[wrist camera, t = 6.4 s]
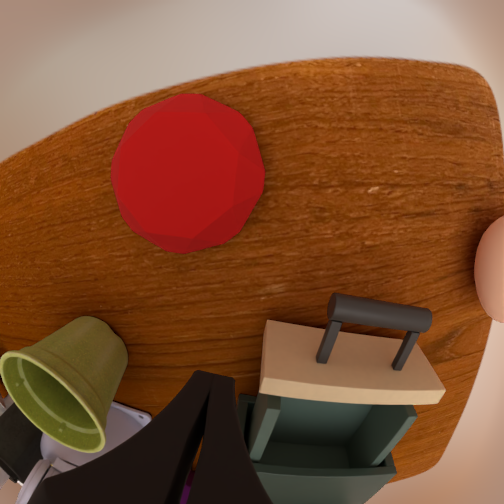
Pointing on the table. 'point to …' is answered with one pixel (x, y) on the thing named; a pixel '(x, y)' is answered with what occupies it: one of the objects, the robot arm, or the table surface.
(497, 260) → the egg
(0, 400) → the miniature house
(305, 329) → the drawer
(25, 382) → the plant pot
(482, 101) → the table surface
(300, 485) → the cabinet
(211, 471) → the robot arm
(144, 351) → the table surface
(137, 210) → the gemstone
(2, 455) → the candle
